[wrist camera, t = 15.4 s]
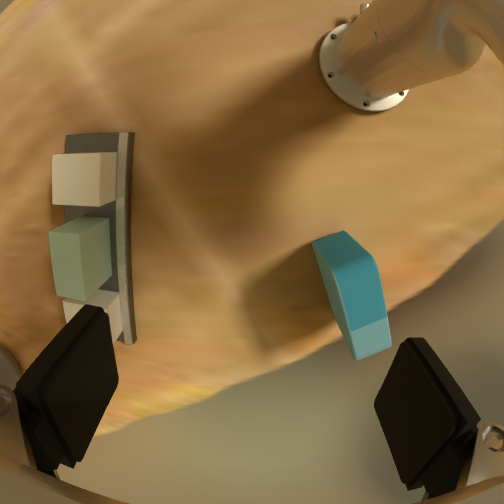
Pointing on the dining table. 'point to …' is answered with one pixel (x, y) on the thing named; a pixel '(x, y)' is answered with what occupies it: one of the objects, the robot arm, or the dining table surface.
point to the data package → (354, 293)
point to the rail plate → (113, 218)
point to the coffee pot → (8, 369)
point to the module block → (80, 256)
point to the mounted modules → (88, 194)
